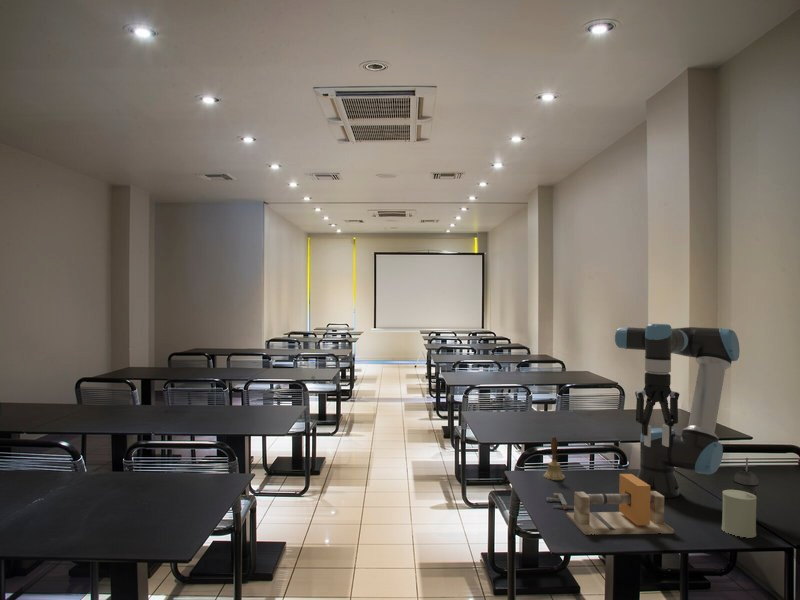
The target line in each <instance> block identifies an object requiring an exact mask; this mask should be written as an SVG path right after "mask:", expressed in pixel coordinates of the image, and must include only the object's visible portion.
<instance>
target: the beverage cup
mask: <svg viewBox="0 0 800 600" xmlns="http://www.w3.org/2000/svg"><path fill="white" fill-rule="evenodd" d="M748 464H749V457H745V469H740V470H739V471H736V472H735V474H734V476H733V480H732V482H733V487H734V490H740V491H745V492H748V493H751V494H753V495H755V496H756V497H757V491H759V490H758V489H759V485H760V484H759V480H758V477H757V475H756V474H755V473H753V472H752V471H751V470H749V469H748V467H749V466H748Z"/></svg>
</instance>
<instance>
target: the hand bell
mask: <svg viewBox="0 0 800 600" xmlns="http://www.w3.org/2000/svg"><path fill="white" fill-rule="evenodd" d="M550 448H551V449H550V450H551V461H550V462H548V465H547V470H546V472H545V473H543V477H544V478H545V479H547V480H550V479H551V480H550V481H552V480H553V481H562V480H565V479H566V477H565V475H564V474H563V472H562V469H561V463H559V462H558V461H557V452H558V441H557V436H552V438H551V442H550Z"/></svg>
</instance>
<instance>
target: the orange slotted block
mask: <svg viewBox="0 0 800 600" xmlns="http://www.w3.org/2000/svg"><path fill="white" fill-rule="evenodd" d="M618 481H619V485H618V487H619V488H618V489H619V490H618V491H619V493H618V494H631V504H618V512H621V513H622V514H624V515H625V516H626V517H627V518H629V519H630V520H631V521H632V522H634V523H635V524H636V525H650V485H648V484H647V483H645V482H643V481H642V480H640V479H639V478H637V475H636V476H635V475H634V474H632V473H619V479H618Z"/></svg>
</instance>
